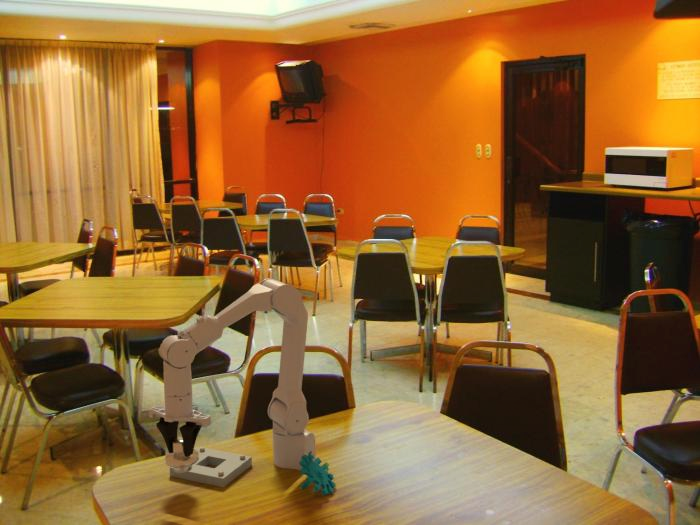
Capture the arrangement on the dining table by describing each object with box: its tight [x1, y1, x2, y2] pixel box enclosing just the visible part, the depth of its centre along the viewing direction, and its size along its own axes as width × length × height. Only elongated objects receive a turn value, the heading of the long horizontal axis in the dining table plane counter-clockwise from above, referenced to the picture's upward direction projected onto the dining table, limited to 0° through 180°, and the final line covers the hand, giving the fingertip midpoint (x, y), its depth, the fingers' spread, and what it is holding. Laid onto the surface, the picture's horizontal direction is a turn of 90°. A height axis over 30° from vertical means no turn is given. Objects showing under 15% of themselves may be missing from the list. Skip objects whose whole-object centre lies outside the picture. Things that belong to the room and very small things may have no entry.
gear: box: [299, 454, 337, 496], centre depth 165 cm, size 11×6×10 cm
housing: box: [169, 446, 253, 488], centre depth 172 cm, size 14×12×4 cm
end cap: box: [164, 436, 199, 473], centre depth 163 cm, size 7×7×6 cm
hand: (180, 453), depth 162 cm, fingers closed on end cap, 4 cm apart
